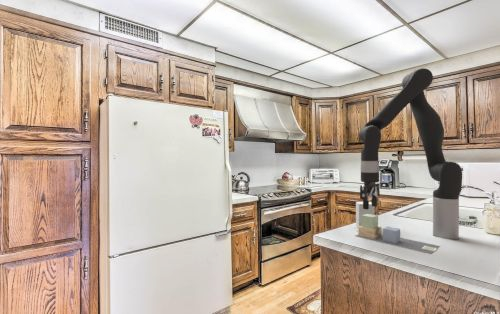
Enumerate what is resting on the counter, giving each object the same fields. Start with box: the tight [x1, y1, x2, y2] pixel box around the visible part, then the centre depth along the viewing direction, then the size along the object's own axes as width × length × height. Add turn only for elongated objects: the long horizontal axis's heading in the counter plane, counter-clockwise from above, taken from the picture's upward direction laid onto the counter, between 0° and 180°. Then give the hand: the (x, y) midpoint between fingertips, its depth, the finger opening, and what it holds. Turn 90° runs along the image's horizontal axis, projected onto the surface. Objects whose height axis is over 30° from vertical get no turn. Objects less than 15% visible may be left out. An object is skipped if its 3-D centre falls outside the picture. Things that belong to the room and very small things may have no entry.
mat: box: [354, 233, 441, 255], centre depth 111 cm, size 12×29×1 cm, turn 42°
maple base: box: [358, 225, 382, 239], centre depth 118 cm, size 7×7×4 cm
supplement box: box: [355, 201, 376, 230], centre depth 131 cm, size 7×7×13 cm
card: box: [422, 246, 438, 253], centre depth 101 cm, size 4×4×1 cm
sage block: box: [362, 214, 379, 229], centre depth 118 cm, size 5×5×5 cm
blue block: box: [382, 225, 401, 243], centre depth 111 cm, size 5×5×5 cm
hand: (370, 207), depth 118 cm, fingers open, 8 cm apart
